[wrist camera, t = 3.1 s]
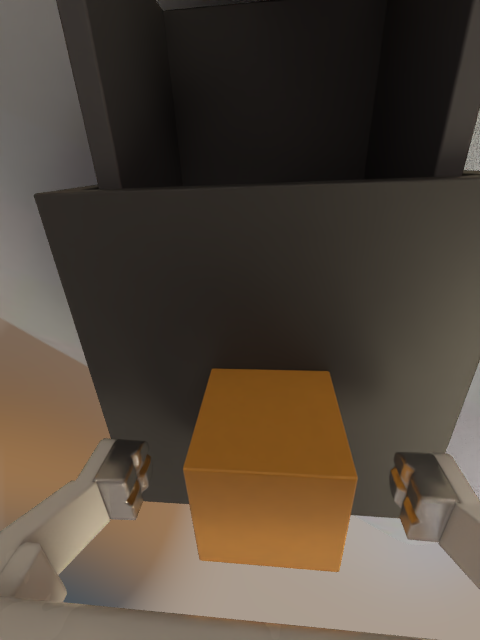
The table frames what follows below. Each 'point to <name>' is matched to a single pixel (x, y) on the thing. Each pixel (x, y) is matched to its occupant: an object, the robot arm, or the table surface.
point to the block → (270, 470)
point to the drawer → (274, 89)
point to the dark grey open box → (277, 306)
